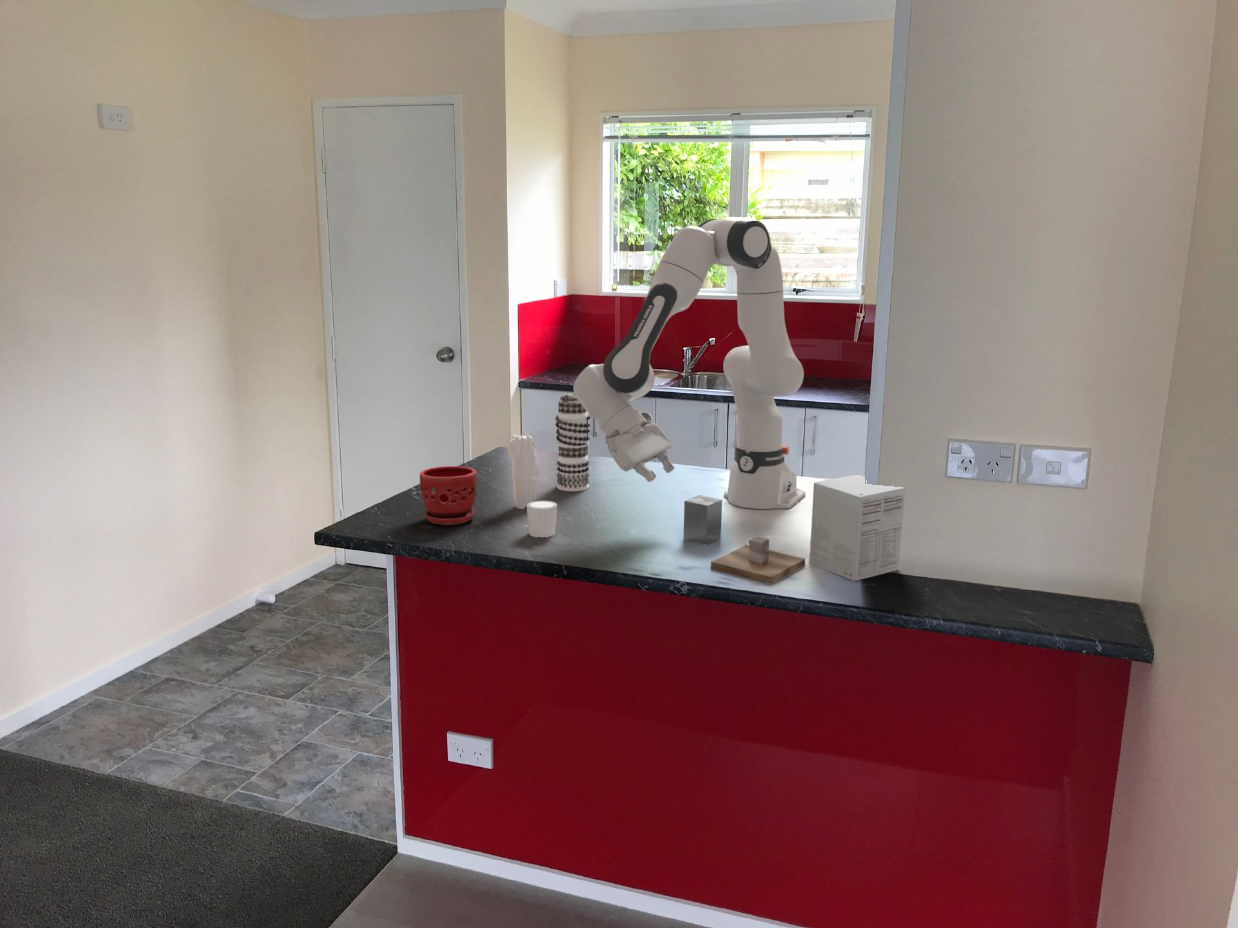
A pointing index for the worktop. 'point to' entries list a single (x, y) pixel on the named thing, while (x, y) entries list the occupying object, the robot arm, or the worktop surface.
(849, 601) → the worktop surface
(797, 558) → the tang block
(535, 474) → the white figurine
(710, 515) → the grey rectangular block
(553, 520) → the white short cylinder
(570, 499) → the worktop surface
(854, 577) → the supplement box
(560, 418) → the decorative candle
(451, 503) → the plant pot
